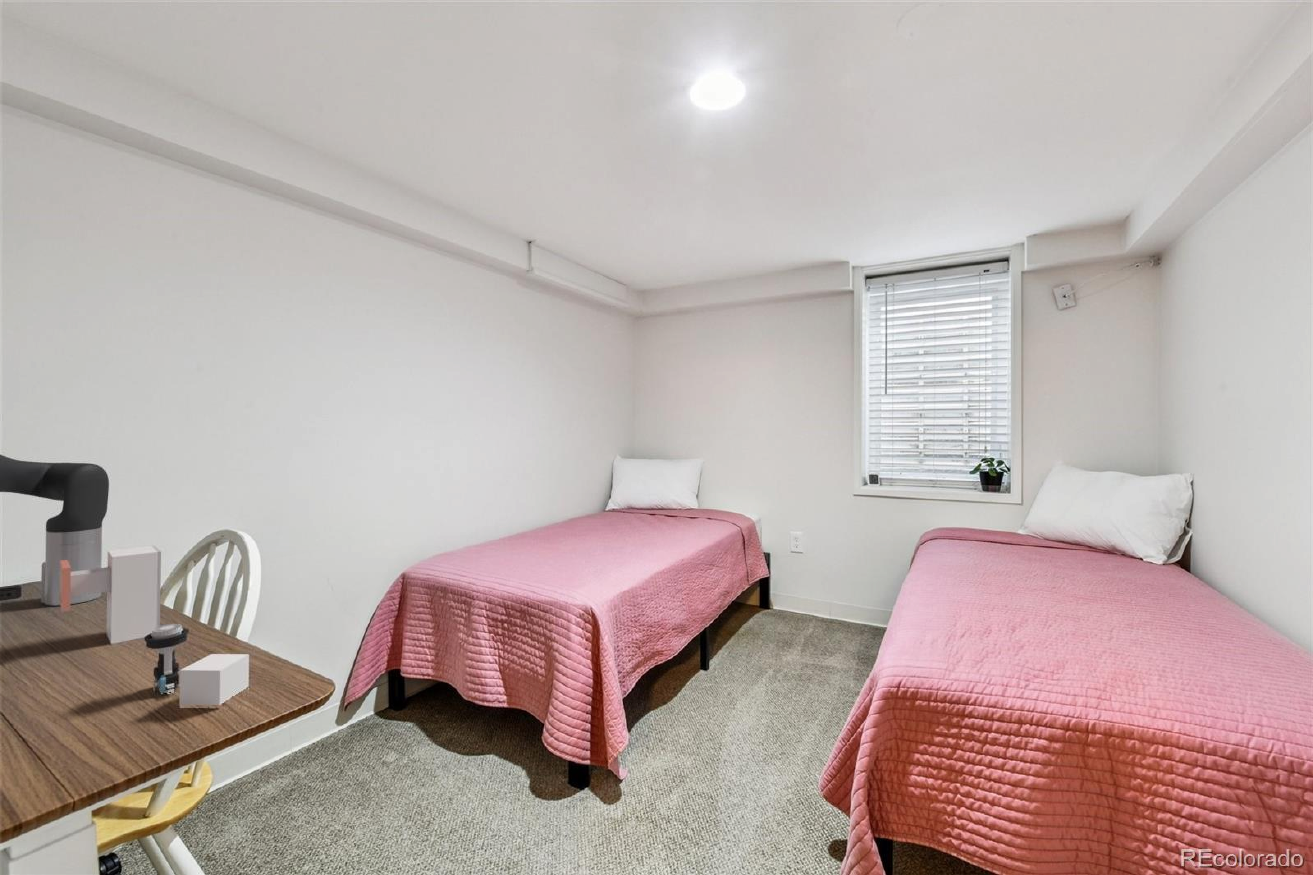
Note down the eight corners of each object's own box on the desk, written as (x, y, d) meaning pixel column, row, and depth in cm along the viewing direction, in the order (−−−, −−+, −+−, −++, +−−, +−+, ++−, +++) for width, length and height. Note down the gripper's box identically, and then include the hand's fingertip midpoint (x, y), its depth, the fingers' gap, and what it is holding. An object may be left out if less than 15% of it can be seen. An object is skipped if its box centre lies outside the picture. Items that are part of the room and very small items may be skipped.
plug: (62, 611, 99) (62, 568, 99) (59, 601, 105) (59, 560, 105) (119, 602, 105) (119, 561, 105) (113, 593, 110) (114, 554, 110)
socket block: (110, 644, 104) (112, 557, 104) (106, 633, 109) (107, 550, 109) (159, 634, 110) (161, 551, 109) (153, 624, 115) (154, 545, 115)
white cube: (219, 710, 81) (220, 670, 81) (179, 709, 81) (179, 670, 81) (248, 690, 87) (249, 654, 87) (211, 690, 87) (211, 653, 87)
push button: (192, 691, 86) (193, 629, 86) (147, 703, 82) (148, 638, 82) (184, 678, 91) (185, 619, 91) (141, 689, 87) (142, 627, 87)
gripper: (-157, 599, 80) (22, 577, 94) (-141, 582, 89) (21, 564, 102) (-158, 649, 80) (21, 620, 94) (-142, 627, 89) (20, 603, 102)
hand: (21, 591), depth 98 cm, fingers closed
